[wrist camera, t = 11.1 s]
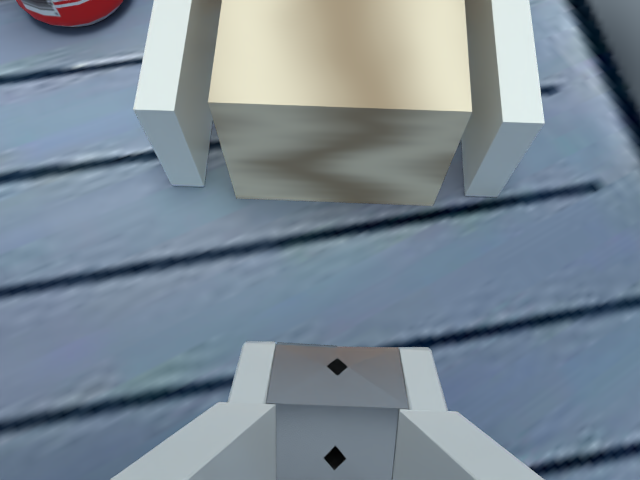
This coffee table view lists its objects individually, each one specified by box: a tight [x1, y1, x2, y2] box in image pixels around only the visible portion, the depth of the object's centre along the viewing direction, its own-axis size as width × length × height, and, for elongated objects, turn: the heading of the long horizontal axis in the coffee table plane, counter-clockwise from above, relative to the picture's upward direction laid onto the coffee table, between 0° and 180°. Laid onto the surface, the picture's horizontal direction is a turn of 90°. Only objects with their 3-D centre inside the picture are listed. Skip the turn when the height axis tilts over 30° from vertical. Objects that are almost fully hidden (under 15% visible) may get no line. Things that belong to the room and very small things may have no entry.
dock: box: [133, 0, 544, 197], centre depth 24 cm, size 15×12×10 cm
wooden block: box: [208, 0, 472, 206], centre depth 25 cm, size 9×11×8 cm
